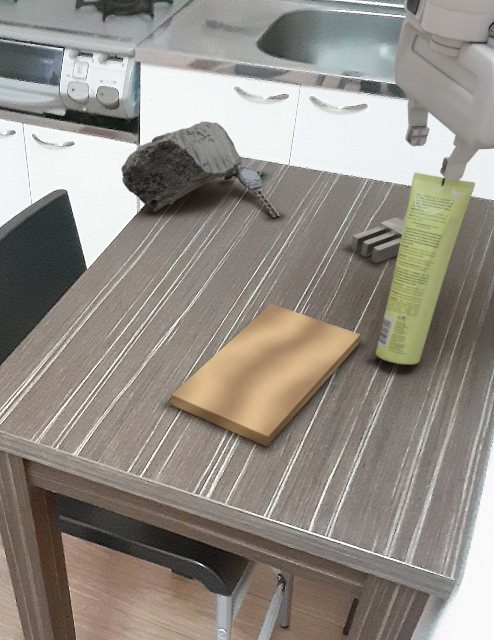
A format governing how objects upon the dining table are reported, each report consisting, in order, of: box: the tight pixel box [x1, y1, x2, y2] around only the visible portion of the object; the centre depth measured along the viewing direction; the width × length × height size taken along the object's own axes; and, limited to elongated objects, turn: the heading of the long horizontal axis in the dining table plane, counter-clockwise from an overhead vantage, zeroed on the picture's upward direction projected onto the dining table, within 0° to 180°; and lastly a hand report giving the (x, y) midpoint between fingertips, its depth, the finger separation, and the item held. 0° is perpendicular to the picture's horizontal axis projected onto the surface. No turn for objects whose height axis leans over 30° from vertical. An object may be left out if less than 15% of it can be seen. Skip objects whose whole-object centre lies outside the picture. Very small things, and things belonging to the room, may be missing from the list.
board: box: [170, 303, 361, 448], centre depth 86 cm, size 12×22×2 cm, turn 143°
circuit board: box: [228, 171, 264, 179], centre depth 124 cm, size 6×1×2 cm
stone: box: [121, 121, 241, 213], centre depth 114 cm, size 12×18×15 cm
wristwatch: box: [223, 160, 281, 218], centre depth 117 cm, size 4×14×5 cm, turn 25°
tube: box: [375, 172, 476, 366], centre depth 82 cm, size 6×5×20 cm
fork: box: [350, 216, 405, 264], centre depth 106 cm, size 16×5×2 cm, turn 121°
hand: (431, 160), depth 80 cm, fingers open, 8 cm apart
